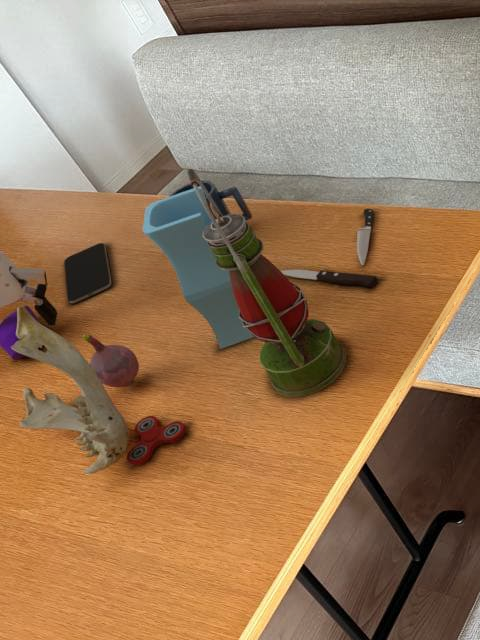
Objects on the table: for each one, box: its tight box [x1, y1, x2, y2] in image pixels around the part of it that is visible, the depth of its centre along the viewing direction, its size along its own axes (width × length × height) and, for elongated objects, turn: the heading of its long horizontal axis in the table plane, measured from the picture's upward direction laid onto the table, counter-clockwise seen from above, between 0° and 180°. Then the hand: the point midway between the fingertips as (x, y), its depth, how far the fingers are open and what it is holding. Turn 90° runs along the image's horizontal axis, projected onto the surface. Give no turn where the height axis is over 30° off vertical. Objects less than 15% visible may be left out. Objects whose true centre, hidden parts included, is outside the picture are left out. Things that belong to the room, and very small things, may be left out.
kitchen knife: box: [280, 269, 379, 289], centre depth 120 cm, size 18×1×2 cm
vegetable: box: [82, 333, 140, 388], centre depth 110 cm, size 6×6×10 cm
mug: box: [168, 179, 253, 222], centre depth 132 cm, size 11×8×9 cm
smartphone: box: [64, 242, 113, 304], centre depth 136 cm, size 7×1×15 cm
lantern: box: [186, 168, 347, 398], centre depth 97 cm, size 14×11×30 cm
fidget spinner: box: [126, 415, 187, 466], centre depth 104 cm, size 8×7×1 cm
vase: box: [142, 186, 255, 350], centre depth 110 cm, size 8×8×20 cm
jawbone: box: [11, 305, 129, 475], centre depth 104 cm, size 25×18×10 cm
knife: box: [356, 208, 374, 266], centre depth 125 cm, size 15×1×2 cm
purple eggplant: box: [0, 305, 41, 360], centre depth 125 cm, size 5×5×15 cm
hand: (24, 331), depth 126 cm, fingers open, 9 cm apart
